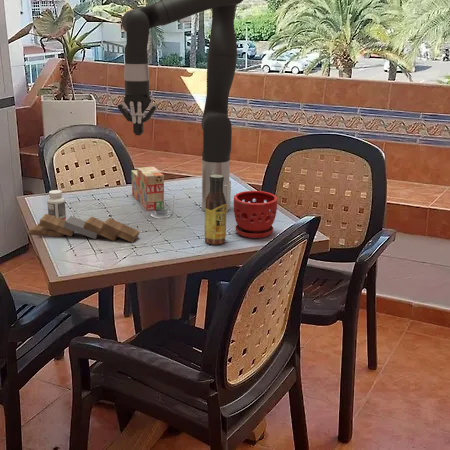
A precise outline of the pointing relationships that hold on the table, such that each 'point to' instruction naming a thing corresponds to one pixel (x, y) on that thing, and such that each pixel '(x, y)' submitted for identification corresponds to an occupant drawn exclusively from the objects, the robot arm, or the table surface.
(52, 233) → the walnut domino
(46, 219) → the walnut domino
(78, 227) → the charcoal domino
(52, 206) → the pill bottle
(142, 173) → the stack of blocks
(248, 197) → the plant pot
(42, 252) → the table surface
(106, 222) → the walnut domino
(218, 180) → the sauce bottle
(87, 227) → the walnut domino
